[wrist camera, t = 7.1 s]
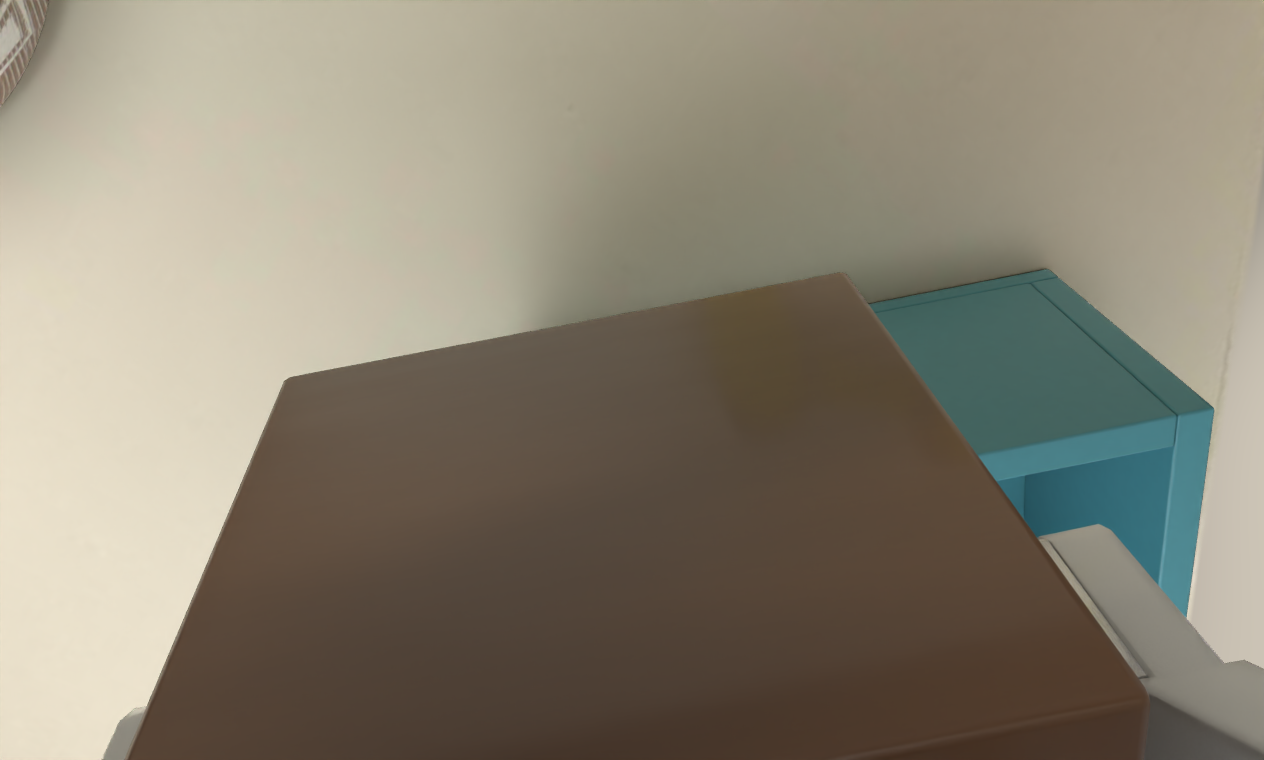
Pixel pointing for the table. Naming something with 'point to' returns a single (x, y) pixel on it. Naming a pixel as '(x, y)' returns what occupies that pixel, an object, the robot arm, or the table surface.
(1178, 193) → the table surface
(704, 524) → the block
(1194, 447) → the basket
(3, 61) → the planter
